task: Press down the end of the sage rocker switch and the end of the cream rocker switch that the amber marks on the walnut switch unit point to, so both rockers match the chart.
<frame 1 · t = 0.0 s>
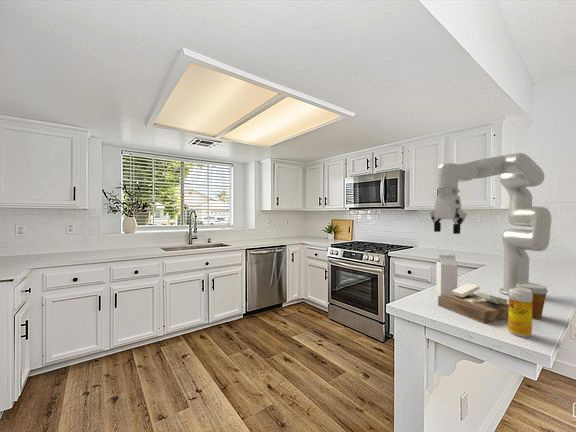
hand: (446, 232, 123), 31 cm above the counter, tool pointing down, fingers open, 9 cm apart
sage rocker: (491, 298, 112), point 6 cm above the counter, hinge at -15.0°
switch unit: (475, 310, 116), on the counter
cream rocker: (465, 291, 122), point 6 cm above the counter, hinge at 15.0°
beer can: (519, 334, 95), on the counter
milk carton: (446, 294, 138), on the counter
disposable coffee cup: (530, 316, 111), on the counter
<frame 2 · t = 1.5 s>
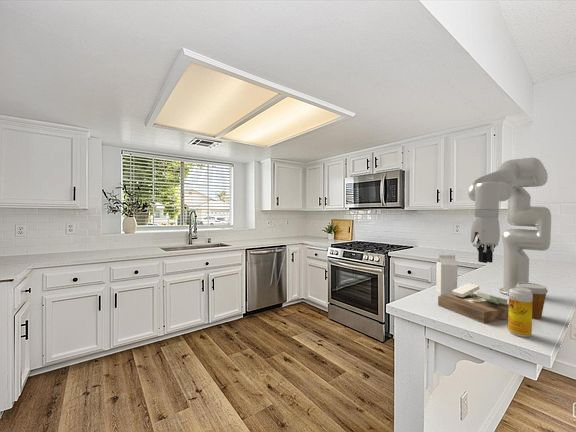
hand: (485, 261, 110), 21 cm above the counter, tool pointing down, fingers closed
nothing on the counter moved.
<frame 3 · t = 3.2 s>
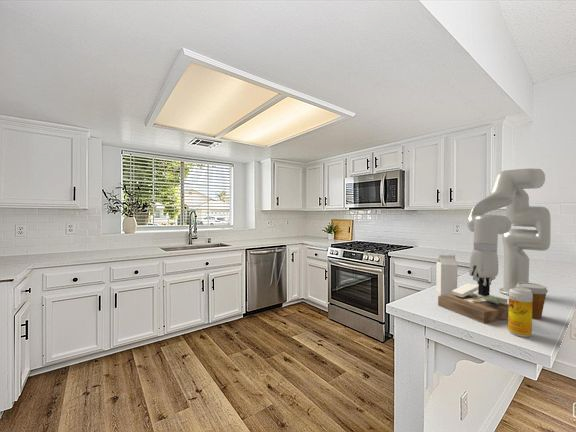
hand: (483, 295, 110), 8 cm above the counter, tool pointing down, fingers closed
sage rocker: (491, 298, 112), point 6 cm above the counter, hinge at -13.7°, touching gripper
everything else where it was.
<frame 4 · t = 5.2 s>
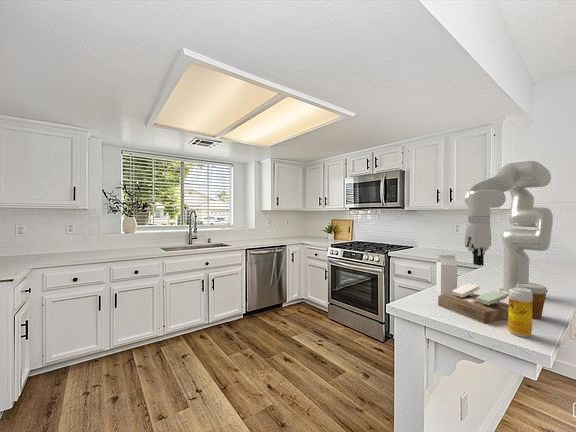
hand: (478, 264, 118), 18 cm above the counter, tool pointing down, fingers closed
sage rocker: (491, 298, 112), point 6 cm above the counter, hinge at 9.4°
everything else where it was.
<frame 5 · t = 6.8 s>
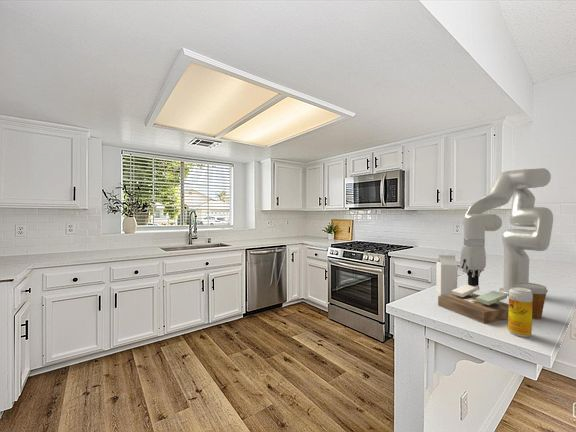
hand: (473, 285, 123), 8 cm above the counter, tool pointing down, fingers closed
sage rocker: (491, 298, 112), point 6 cm above the counter, hinge at 9.9°
cream rocker: (465, 291, 122), point 6 cm above the counter, hinge at 13.3°, touching gripper
everything else where it was.
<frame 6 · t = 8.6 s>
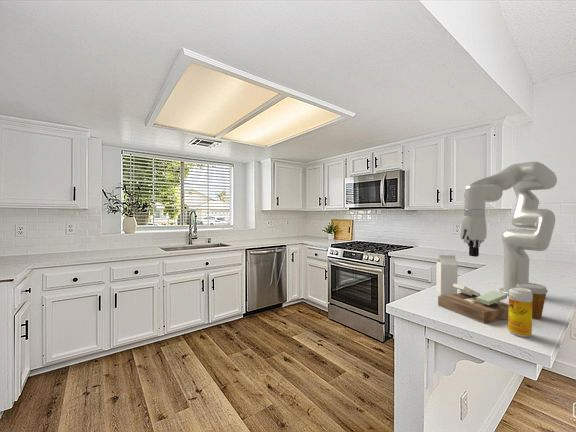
hand: (473, 256, 123), 21 cm above the counter, tool pointing down, fingers closed
cream rocker: (466, 291, 122), point 6 cm above the counter, hinge at -23.7°, touching switch unit
everything else where it was.
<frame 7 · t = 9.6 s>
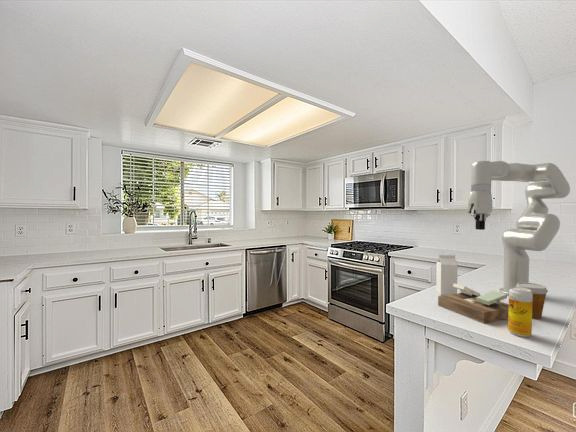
hand: (480, 229, 129), 32 cm above the counter, tool pointing down, fingers closed
nothing on the counter moved.
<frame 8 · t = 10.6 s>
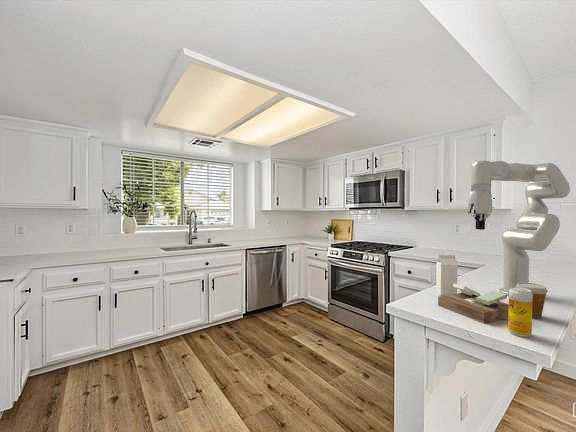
hand: (480, 229, 129), 32 cm above the counter, tool pointing down, fingers closed
nothing on the counter moved.
at the end: sage rocker at +10° (first picture: -15°); cream rocker at -24° (first picture: +15°) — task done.
